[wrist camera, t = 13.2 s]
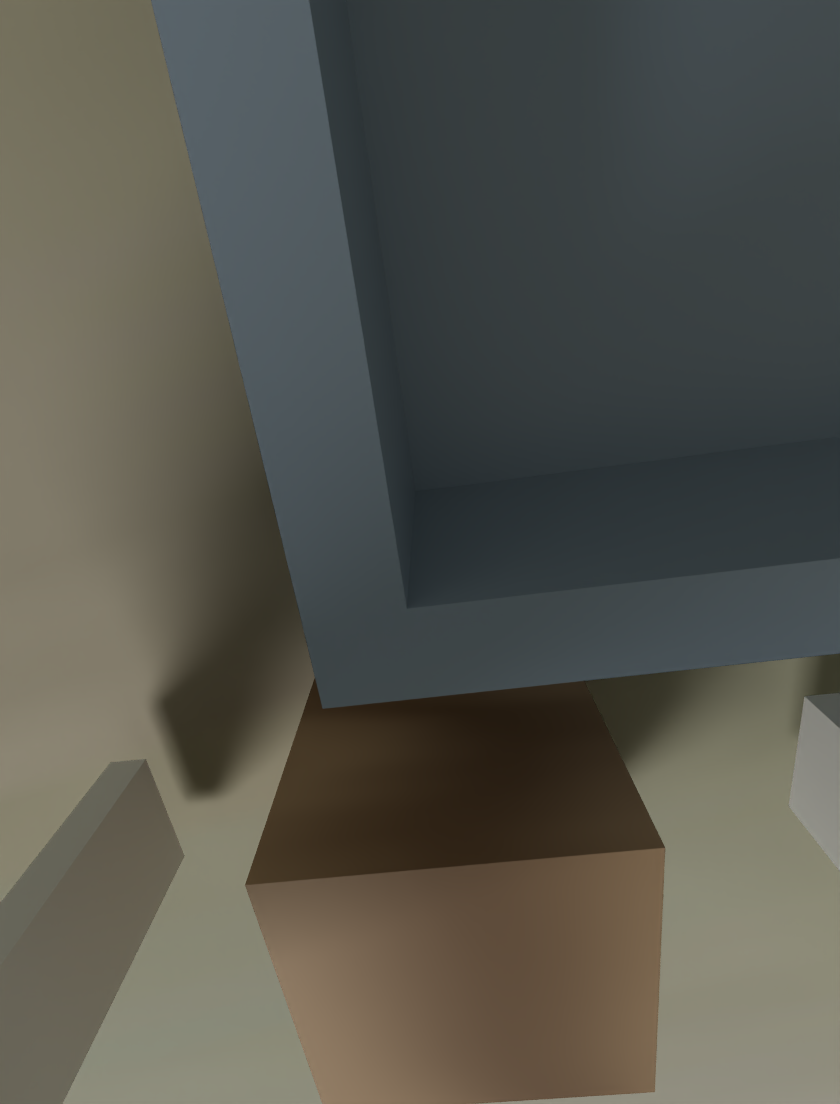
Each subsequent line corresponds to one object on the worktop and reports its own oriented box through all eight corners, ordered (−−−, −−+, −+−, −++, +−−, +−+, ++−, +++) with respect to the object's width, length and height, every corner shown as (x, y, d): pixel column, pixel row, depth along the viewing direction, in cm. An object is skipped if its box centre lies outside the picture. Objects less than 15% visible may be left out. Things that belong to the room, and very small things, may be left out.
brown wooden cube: (362, 835, 13) (326, 1112, 8) (320, 659, 11) (245, 885, 6) (568, 816, 13) (654, 1092, 8) (560, 632, 11) (665, 848, 6)
